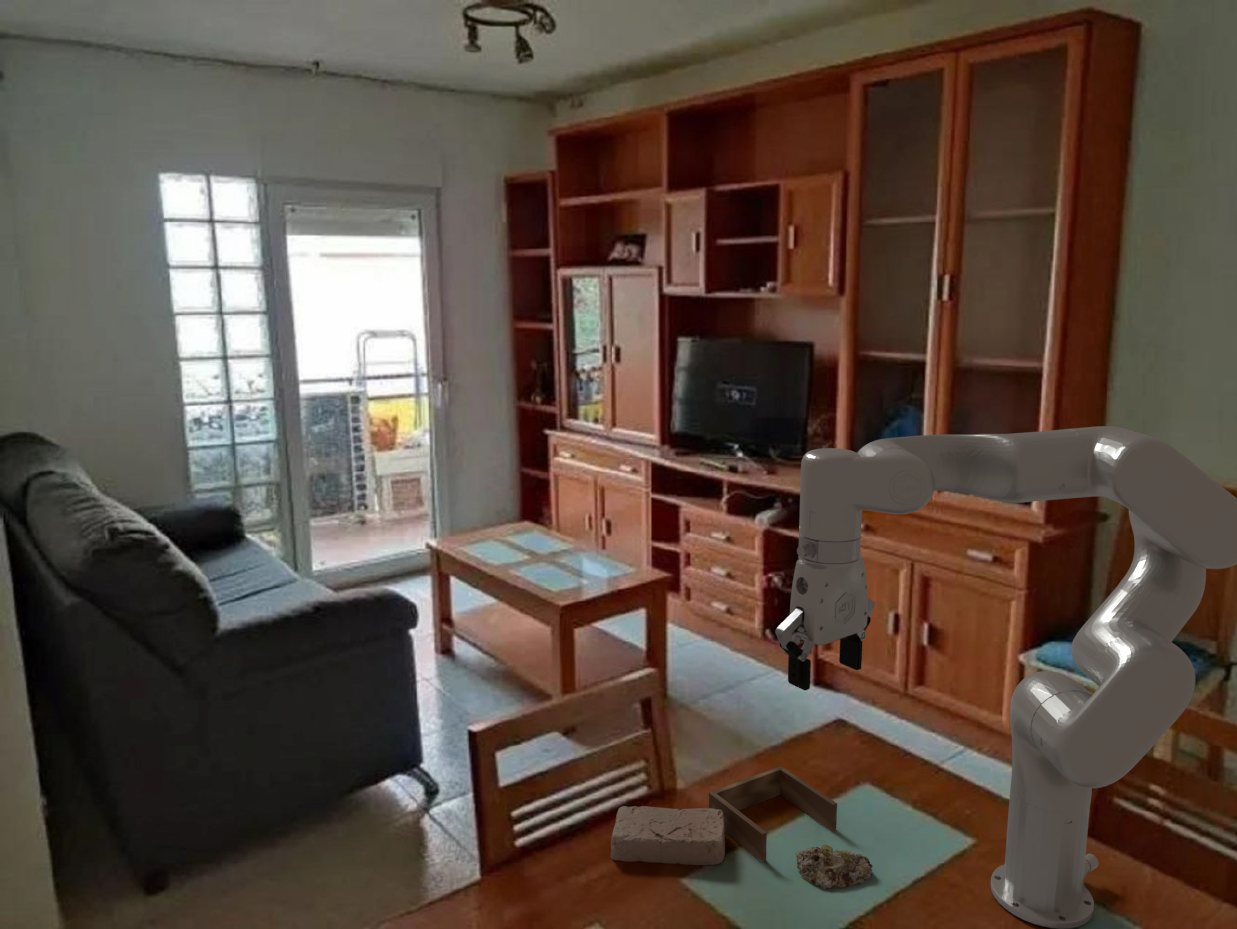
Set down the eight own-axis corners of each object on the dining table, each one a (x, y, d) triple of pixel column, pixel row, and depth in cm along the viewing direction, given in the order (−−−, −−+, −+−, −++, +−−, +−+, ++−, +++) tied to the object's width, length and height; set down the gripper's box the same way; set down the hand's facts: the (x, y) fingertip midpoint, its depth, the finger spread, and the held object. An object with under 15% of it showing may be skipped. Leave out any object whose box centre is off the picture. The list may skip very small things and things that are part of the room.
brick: (610, 863, 131) (609, 834, 130) (616, 829, 139) (616, 801, 138) (724, 870, 129) (725, 841, 128) (724, 835, 137) (724, 807, 136)
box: (780, 791, 148) (780, 766, 147) (836, 830, 137) (837, 803, 136) (708, 818, 141) (708, 792, 140) (761, 862, 130) (762, 834, 129)
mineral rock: (798, 877, 123) (795, 829, 131) (795, 898, 125) (793, 850, 133) (878, 885, 122) (871, 836, 129) (874, 906, 124) (868, 857, 131)
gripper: (804, 568, 104) (800, 705, 108) (898, 542, 114) (891, 668, 118) (758, 553, 110) (755, 684, 114) (851, 530, 120) (846, 650, 124)
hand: (825, 676), depth 116 cm, fingers open, 9 cm apart
